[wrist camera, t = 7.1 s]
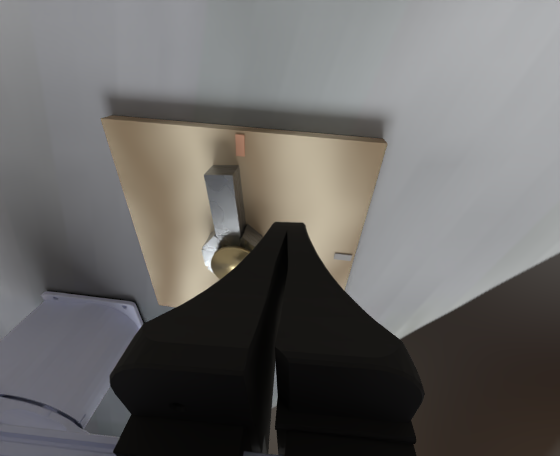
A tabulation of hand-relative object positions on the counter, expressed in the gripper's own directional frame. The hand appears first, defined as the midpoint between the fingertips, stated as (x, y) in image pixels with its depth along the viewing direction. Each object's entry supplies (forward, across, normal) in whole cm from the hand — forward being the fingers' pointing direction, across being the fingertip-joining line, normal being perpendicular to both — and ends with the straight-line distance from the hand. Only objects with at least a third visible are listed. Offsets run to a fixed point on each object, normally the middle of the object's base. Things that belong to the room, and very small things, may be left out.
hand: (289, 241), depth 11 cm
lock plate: (+6, +4, +4) cm, 9 cm away
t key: (+5, +4, +4) cm, 8 cm away
